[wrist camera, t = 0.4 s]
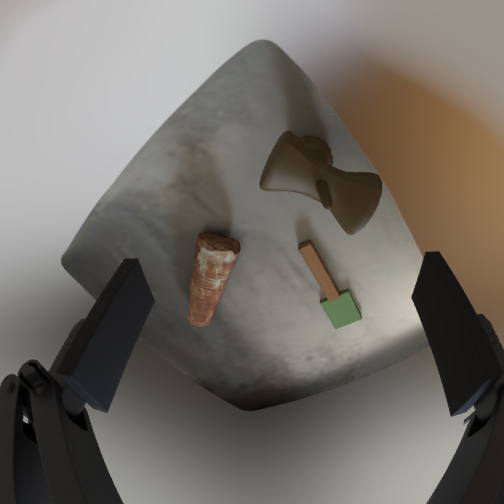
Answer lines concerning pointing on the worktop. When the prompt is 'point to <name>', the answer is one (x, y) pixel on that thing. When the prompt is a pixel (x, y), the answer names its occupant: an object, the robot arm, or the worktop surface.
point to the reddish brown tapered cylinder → (210, 275)
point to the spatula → (330, 290)
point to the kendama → (322, 180)
